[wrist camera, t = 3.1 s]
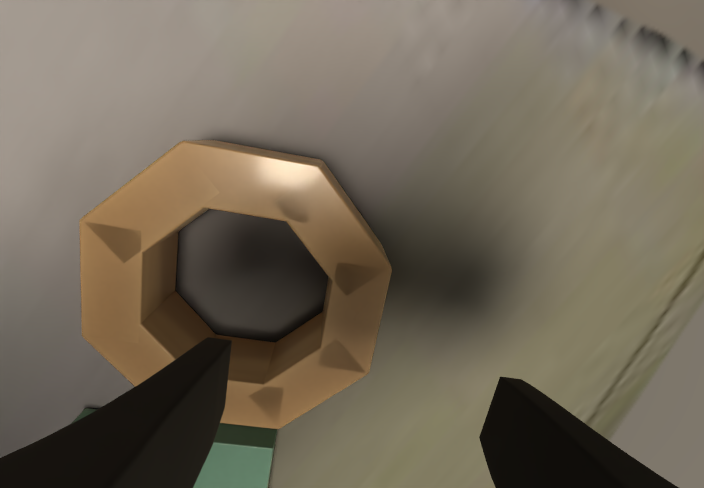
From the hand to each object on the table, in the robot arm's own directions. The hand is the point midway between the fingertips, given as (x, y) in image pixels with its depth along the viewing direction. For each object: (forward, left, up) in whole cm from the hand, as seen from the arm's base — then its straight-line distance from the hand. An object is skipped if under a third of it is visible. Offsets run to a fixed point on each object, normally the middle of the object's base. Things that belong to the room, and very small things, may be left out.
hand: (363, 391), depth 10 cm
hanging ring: (-4, 0, -7) cm, 8 cm away
